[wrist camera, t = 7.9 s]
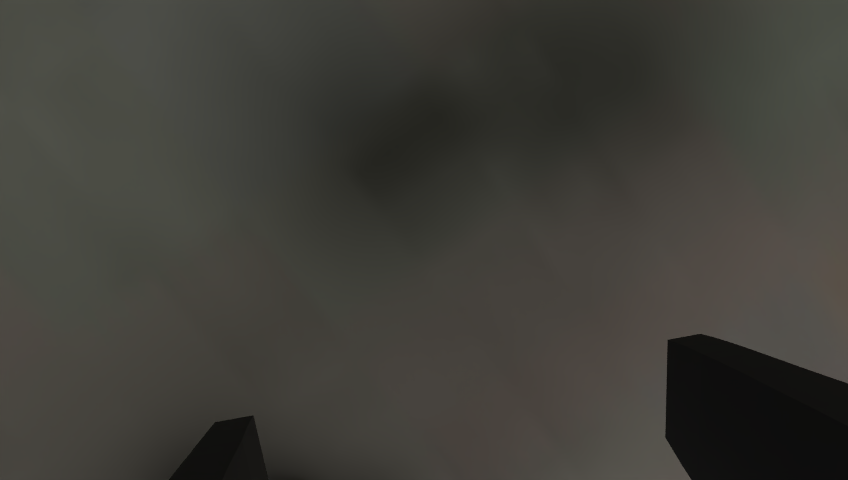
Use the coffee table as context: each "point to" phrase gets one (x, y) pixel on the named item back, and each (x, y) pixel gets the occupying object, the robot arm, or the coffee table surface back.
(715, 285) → the coffee table surface
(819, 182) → the coffee table surface
